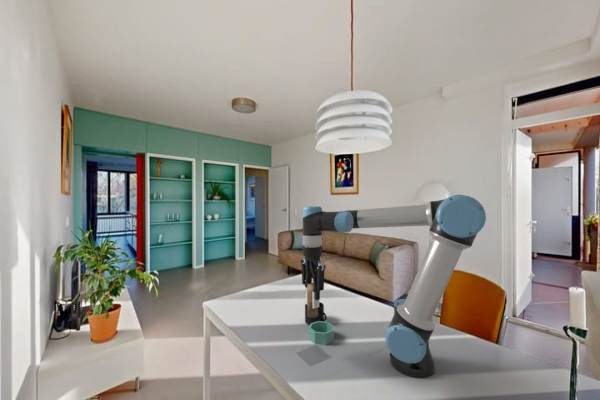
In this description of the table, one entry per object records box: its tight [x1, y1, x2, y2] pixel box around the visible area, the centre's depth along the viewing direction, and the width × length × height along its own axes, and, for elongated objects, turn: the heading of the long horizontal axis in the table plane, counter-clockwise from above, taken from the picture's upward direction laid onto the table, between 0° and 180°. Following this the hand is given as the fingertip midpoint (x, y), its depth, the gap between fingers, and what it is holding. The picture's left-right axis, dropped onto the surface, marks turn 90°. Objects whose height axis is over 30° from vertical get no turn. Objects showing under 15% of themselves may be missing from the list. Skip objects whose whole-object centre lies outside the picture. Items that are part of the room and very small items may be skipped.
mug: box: [304, 301, 327, 326], centre depth 126 cm, size 9×12×9 cm
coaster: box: [295, 344, 332, 367], centre depth 99 cm, size 10×10×1 cm
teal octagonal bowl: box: [308, 321, 335, 346], centre depth 111 cm, size 11×11×6 cm
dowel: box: [307, 282, 318, 318], centre depth 99 cm, size 4×4×12 cm
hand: (312, 305), depth 99 cm, fingers closed on dowel, 4 cm apart
